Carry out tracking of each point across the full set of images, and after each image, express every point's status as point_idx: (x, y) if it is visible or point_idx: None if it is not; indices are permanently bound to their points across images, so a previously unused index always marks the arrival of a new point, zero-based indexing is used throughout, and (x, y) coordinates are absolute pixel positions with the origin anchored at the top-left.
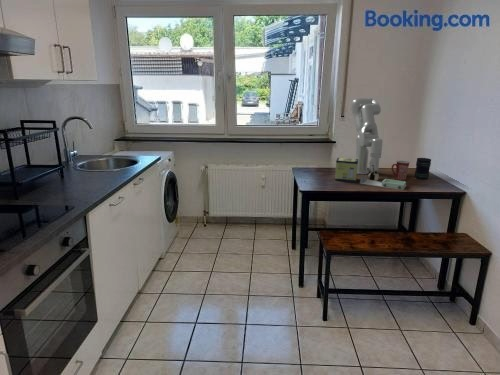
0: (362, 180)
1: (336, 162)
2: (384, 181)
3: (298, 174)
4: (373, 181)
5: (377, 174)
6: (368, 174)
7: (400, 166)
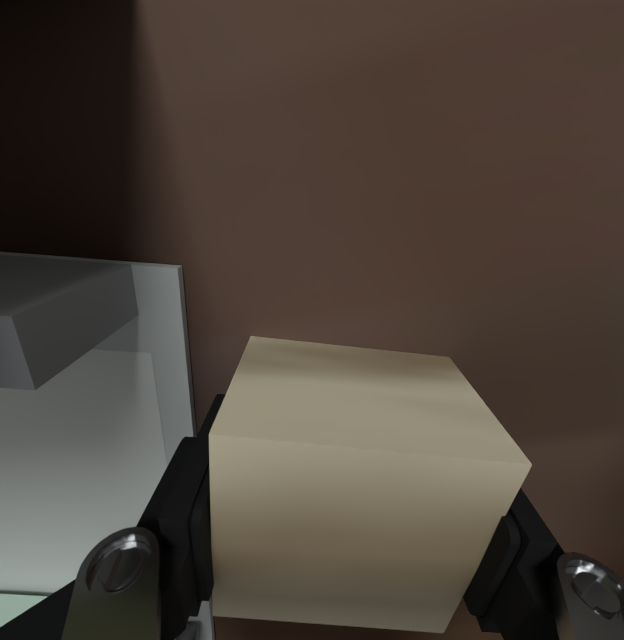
0: None
1: None
2: None
3: None
4: (124, 466)
5: (365, 618)
6: (211, 435)
7: None
